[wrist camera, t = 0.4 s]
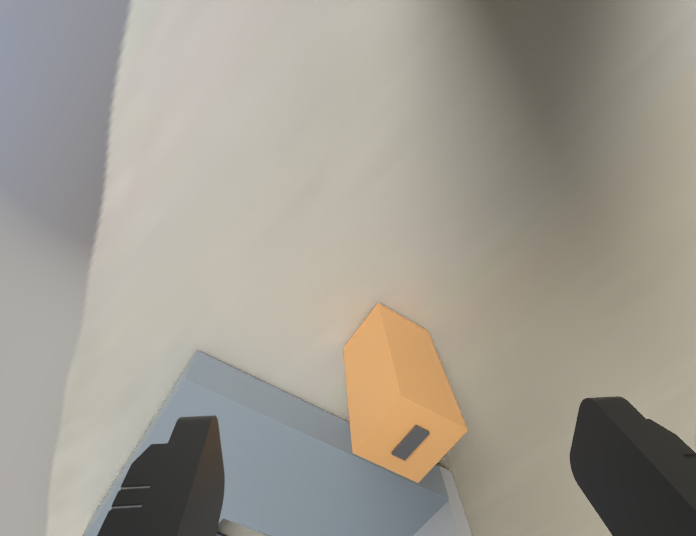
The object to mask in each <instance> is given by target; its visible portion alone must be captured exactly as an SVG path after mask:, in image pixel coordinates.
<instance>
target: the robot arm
mask: <svg viewBox="0 0 696 536" xmlns="http://www.w3.org/2000/svg"><path fill="white" fill-rule="evenodd" d="M570 464H571V469H572V472H573V475H574V478H575V480H576V482H577V484H578V485H579V487H580V488H581V490H582V491H583V493H584V494H585V495H586V497H587V498H588V500H589V501H590V503H591V504H592V506H593V507H594V509H595V510H596V512H597V513H598V515H599V516H600V518H601V519H602V520H603V522H604V523H605V525H606V526H607V528H608V529H609V531H610V532H611V534H612V535H613V536H696V453H695V452H694V451H693V450H692V449H691V448H690V447H689V446H687V445H686V444H685V443H684V442H683V441H682V440H681V439H680V438H679V437H678V436H677V435H676V434H674V433H672V432H671V431H669V430H667V429H666V428H664V427H662V426H661V425H659V424H657V423H655V422H654V421H652V420H650V419H645V418H644V417H643V416H642V415H641V414H640V413H639V412H638V411H637V410H636V409H635V408H634V407H633V406H632V405H631V404H630V403H629V402H628V401H627V400H626V399H624V398H622V397H600V398H586V399H584V400H583V401H582V402H581V404H580V407H579V412H578V417H577V422H576V427H575V432H574V436H573V441H572V446H571V451H570ZM224 487H225V475H224V465H223V457H222V448H221V440H220V432H219V424H218V419H217V417H216V416H215V415H212V416H192V417H180V418H178V420H177V422H176V424H175V427H174V429H173V431H172V434H171V436H170V439H169V441H168V443H164V444H151V445H150V446H149V447H148V448H147V449H146V450H145V451H144V452H143V453H142V454H141V455H140V456H139V457H138V458H137V459H136V460H135V461H134V462H133V463H132V464H131V466H130V468H129V470H128V472H127V474H126V476H125V478H124V481H123V483H122V485H121V490H120V491H118V493H117V495H116V497H115V499H114V501H113V503H112V508H111V510H109V512H108V514H107V516H106V518H105V520H104V522H103V524H102V526H101V528H100V530H99V532H98V535H97V536H216V533H217V528H218V524H219V519H220V514H221V510H222V505H223V499H224Z"/></svg>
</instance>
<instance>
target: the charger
mask: <svg viewBox="0 0 696 536" xmlns="http://www.w3.org/2000/svg"><path fill="white" fill-rule="evenodd" d="M343 351H344V362H345V374H346V385H347V396H348V408H349V419H350V431H351V442H352V453H353V454H356V455H358V456H360V457H362V458H364V459H367V460H369V461H371V462H373V463H375V464H378V465H380V466H382V467H384V468H386V469H388V470H391V471H393V472H395V473H397V474H399V475H402V476H404V477H406V478H408V479H410V480H413V481H415V482H417V483H419V482H420V481H421V479H422V478H423V477H424V476H425V475H426V474H427V473H428V472H429V471H430V470H431V469H432V468H433V467H434V466H435V465H436V464H437V463H438V461H439V460H440V459H441V458H442V457H443V456H444V455H445V454H446V453H447V452H448V451H449V450H450V449H451V448H452V447H453V446H454V445H455V444H456V442H457V441H458V440H459V439H460V438H461V437H462V436H463V435H464V434H465V433H466V432H467V431H468V429H467V426H466V424H465V421H464V419H463V416H462V414H461V411H460V409H459V407H458V404H457V402H456V399H455V397H454V394H453V392H452V389H451V387H450V384H449V382H448V379H447V377H446V374H445V372H444V369H443V367H442V365H441V362H440V360H439V357H438V355H437V352H436V350H435V347H434V345H433V342H432V340H431V337H430V335H429V332H428V331H427V330H425V329H424V328H422V327H420V326H418V325H417V324H415V323H413V322H411V321H410V320H408V319H406V318H404V317H403V316H401V315H399V314H397V313H396V312H394V311H392V310H390V309H389V308H387V307H385V306H383V305H382V304H380V303H377V304H376V306H375V307H374V308H373V310H372V311H371V312H370V314H369V315H368V316H367V318H366V319H365V320H364V322H363V323H362V324H361V326H360V327H359V328H358V329H357V331H356V332H355V333H354V335H353V336H352V337H351V339H350V340H349V341H348V343H347V344H346V345H345V347H344V348H343Z"/></svg>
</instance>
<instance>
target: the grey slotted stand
mask: <svg viewBox="0 0 696 536" xmlns="http://www.w3.org/2000/svg"><path fill="white" fill-rule="evenodd" d="M212 415H215V416H216V417H217V419H218V424H219V432H220V440H221V448H222V457H223V465H224V475H225V487H224V499H223V505H222V510H221V514H220V519H219V523H220V522H221V520H222V519H226V520H229V521H231V522H234V523H236V524H239V525H242V526H244V527H247V528H250V529H252V530H255V531H258V532H260V533H263V534H266V535H268V536H472V534H471V530H470V527H469V524H468V521H467V518H466V515H465V512H464V509H463V506H462V503H461V500H460V496H459V493H458V490H457V487H456V484H455V481H454V478H453V475H452V472H451V471H450V470H447V469H445V468H443V467H441V466H439V465H437V464H436V465H435V466H434V467H433V468H432V469H431V470H430V471H429V472H428V473H427V474H426V475H425V476H424V477H423V478H422V479H421V481H420V482H419V483H417V482H415V481H413V480H410V479H408V478H406V477H404V476H402V475H399V474H397V473H395V472H393V471H391V470H388V469H386V468H384V467H382V466H380V465H378V464H375V463H373V462H371V461H369V460H367V459H364V458H362V457H360V456H358V455H356V454H353V453H352V442H351V431H350V423H349V422H347V421H345V420H343V419H341V418H338V417H336V416H334V415H332V414H330V413H328V412H326V411H324V410H322V409H320V408H317V407H315V406H313V405H311V404H309V403H307V402H305V401H303V400H301V399H299V398H297V397H294V396H292V395H290V394H288V393H286V392H284V391H282V390H280V389H278V388H276V387H273V386H271V385H269V384H267V383H265V382H263V381H261V380H259V379H257V378H255V377H253V376H250V375H248V374H246V373H244V372H242V371H240V370H238V369H236V368H234V367H232V366H229V365H227V364H225V363H223V362H221V361H219V360H217V359H215V358H213V357H211V356H208V355H206V354H204V353H202V352H200V351H198V350H197V351H196V352H195V354H194V355H193V357H192V359H191V360H190V362H189V363H188V365H187V367H186V368H185V370H184V371H183V373H182V375H181V376H180V378H179V379H178V381H177V382H176V384H175V386H174V387H173V389H172V390H171V392H170V394H169V395H168V397H167V398H166V400H165V402H164V403H163V405H162V406H161V408H160V410H159V411H158V413H157V414H156V416H155V418H154V419H153V421H152V422H151V424H150V425H149V427H148V429H147V430H146V432H145V433H144V435H143V437H142V438H141V440H140V441H139V443H138V445H137V446H136V448H135V449H134V451H133V453H132V454H131V456H130V457H129V459H128V461H127V462H126V464H125V465H124V467H123V468H122V470H121V472H120V473H119V475H118V476H117V478H116V480H115V481H114V483H113V484H112V486H111V488H110V489H109V491H108V492H107V494H106V496H105V497H104V499H103V500H102V502H101V504H100V505H99V507H98V508H97V510H96V511H95V513H94V515H93V516H92V518H91V519H90V521H89V523H88V525H87V527H86V529H85V531H84V533H83V535H82V536H97V535H98V532H99V530H100V528H101V526H102V524H103V522H104V520H105V518H106V516H107V514H108V512H109V510H111V508H112V503H113V501H114V499H115V497H116V495H117V493H118V491H120V490H121V485H122V483H123V481H124V478H125V476H126V474H127V472H128V470H129V468H130V466H131V464H132V463H133V462H134V461H135V460H136V459H137V458H138V457H139V456H140V455H141V454H142V453H143V452H144V451H145V450H146V449H147V448H148V447H149V446H150V445H151V444H164V443H168V441H169V439H170V436H171V434H172V431H173V429H174V427H175V424H176V422H177V420H178V418H180V417H192V416H212ZM216 536H223V535H220V534H217V533H216Z"/></svg>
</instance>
